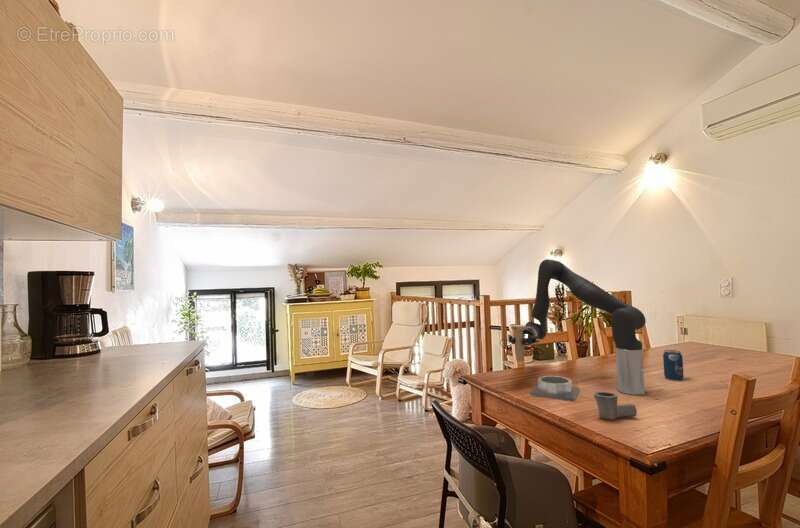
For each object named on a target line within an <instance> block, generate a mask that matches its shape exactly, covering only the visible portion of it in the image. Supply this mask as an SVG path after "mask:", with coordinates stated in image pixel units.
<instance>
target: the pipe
mask: <svg viewBox="0 0 800 528" xmlns="http://www.w3.org/2000/svg"><path fill="white" fill-rule="evenodd" d="M593 397H594V399H595V401H596V404H597V409H598V416H599V418H601V419H603V420H606V421H607V420H609V421H613V420H616V419H618V418H631V417H636V416H637V413H638V410H637V407H636V405H634V404H629V403H628V404H622V405H618V394H617V393H613V392H608V391H596V392H594V393H593Z"/></svg>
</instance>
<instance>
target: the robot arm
mask: <svg viewBox="0 0 800 528" xmlns="http://www.w3.org/2000/svg"><path fill="white" fill-rule="evenodd" d="M551 280H555V281H558V282H559V283H561V284H563V285H565V286H566V287H567V288H568V289H569V291H570V293H572V295H573V296H574V297H575V298H577V299H578V300H579V301H581V302H582V303H584V304H586V305H587V306H590V307H593V308H594V309H598V310H601V311H604V312H607V313H608V314H610V315H611V319H610V321H611V323H610V324H611V325H610V326H611V333H612V336H611V337H612V340H613V342H614V345H615V347H614V348H615V364H616V381H617V384H616V385H617V391H618V392H620V393H623V394H627V395H635V396H637V395H646V393H645V392H646V391H645V372H644V357H643V353H644V352H643V342H642V341H641V340H639V339H638V338H637V336H636V331H637V330H640V329H642V328H644V326H645V325H646V316H645V314H644V313H643V312H642V311H641V310H640V309H639V308H636V307H634V306H633V305H630V304H629V303H626V302H625V301H622V300H620V299H618V298H617V297H616V296H614V295H612V294H611V293H609V292H608V291H606V290H604V289H603V288H601V287H599V285H596V284H595V283H593V282H592V281H590V280H588V279H587V278H585V277H583V276H581V275H579V274H577V273H575V272H574V271H573V270H571V269H570V268H569V267H568V266H566V265H565V264H564V263H562V262H560V261H559V260H554V259H549V258H548V259H544V260H542V261H541V262H540V264H539V266H538V272H537V283H536V294H535V300H534V304H533V308H532V312H531V317H532V318H533V319H535V320H536V321H538V322H539V323H537V322H532V321H528V322H526V323H525V326H526V329H525V330H524V331H523V339H522V345H524V346H530V345H532V344H536V343H537V344H538V343H539V342H540V340H543V339H545V338H546V337H547V333H548V332H547V316H548V313H549V309H550V304H551V303H550V295H549V294H550V293H549V287H550V286H549V285H550V282H551ZM507 340H508V342H509V343H511V345H515V335H512V334H507Z"/></svg>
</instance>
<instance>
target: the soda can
mask: <svg viewBox="0 0 800 528" xmlns="http://www.w3.org/2000/svg"><path fill="white" fill-rule="evenodd" d="M662 360H663V375H664V377H665V379H667V380H669V379H670V381H676V380H680V381H682V380H683V379H684V376H685V375H684V359H683V355H682V353H681V351H680V350H674V349H667V350H666V349H665V350H664V352H663V355H662Z"/></svg>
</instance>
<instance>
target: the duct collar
mask: <svg viewBox="0 0 800 528" xmlns="http://www.w3.org/2000/svg"><path fill="white" fill-rule="evenodd" d="M578 391H580V386H573V380H571V379H570V378H569V377H568V378H567V377H565V376H559V375H558V376H557V375H543V376H539V377H538V378H537V384H536V385H535V386H534V387H533V389H531V391H530V393H529V395H530V396H531V395H533V397H534V396H535V397H539V396H540V398H546V397H547V398H548V399H552V400H553V399H554V400H555V399H556V400H561V399H563V400H562V401H568V400H570V402H575V401H574V400H576V398H577V396H578V394H579V392H578ZM547 398H546V399H547Z"/></svg>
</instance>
